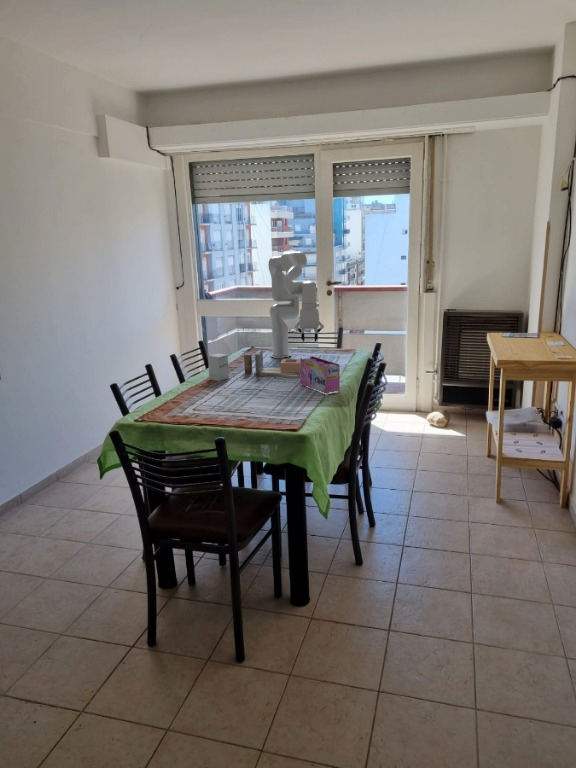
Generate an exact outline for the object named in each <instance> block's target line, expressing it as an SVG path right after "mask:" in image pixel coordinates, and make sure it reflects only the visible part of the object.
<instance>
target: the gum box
mask: <svg viewBox="0 0 576 768" xmlns="http://www.w3.org/2000/svg"><path fill="white" fill-rule="evenodd" d="M299 359H301V376H300V385H301V384H302V385H305V386H308V387H310V388H313V389H316V390H319V391H321V392H324V393H329V392H334V391H339V392H340V382H341V381H340V378H341V377H340V371H341V370H340V366H341V365H340V364H338V363H335V362H332V361H329V360H326V359H322V358H320V357H317V356H310V357H306V358H302V357H300V358H299ZM302 385H301V386H302Z"/></svg>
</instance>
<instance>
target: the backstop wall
mask: <svg viewBox="0 0 576 768" xmlns="http://www.w3.org/2000/svg"><path fill="white" fill-rule="evenodd" d="M263 355H264V354H263V349H258V350H257V351H256V352H255V354H254V359H255V360H254V361H255V362H254V363H255V364H254V365H255V371H256V373H258V375H256V377H261V376H260V372H261V370H262V369H263V368H264V357H263Z"/></svg>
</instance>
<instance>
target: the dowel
mask: <svg viewBox="0 0 576 768" xmlns="http://www.w3.org/2000/svg"><path fill="white" fill-rule="evenodd" d="M243 357H244V358H243V363H244V374H245V373H246V374H245V375H251V374H250V373H252V374H253V361H252V360H253V359H252V354H251V353H250V354H249V353H245V354H244V355H243Z"/></svg>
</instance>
